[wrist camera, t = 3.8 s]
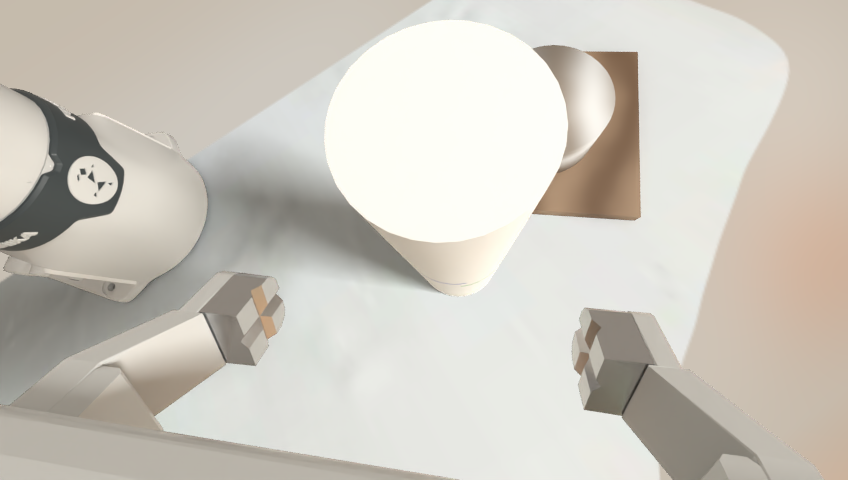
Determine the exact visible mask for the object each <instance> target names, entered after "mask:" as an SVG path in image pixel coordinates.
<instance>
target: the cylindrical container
mask: <svg viewBox="0 0 848 480" xmlns="http://www.w3.org/2000/svg"><path fill="white" fill-rule="evenodd" d="M567 131H568V119H567V111H566V103H565V100H564V97H563V94H562V91H561V89H560V86H559V83H558V81H557V79H556V78H555V76H554V75H553V73H552V71H551V70H550V68H549V67H548V65H547V63H546V62H545V61H544V60H543V59H542V58H541V57H540V56H539V55H538V54H537V53H536V52H535V51H534V50H533V49H532V48H531V47H530V46H528V45H527V44H525V43H524V42H522V41H521V40H519V39H518V38H516V37H515V36H513V35H512V34H510V33H507V32H505V31H502V30H500V29H497V28H495V27H493V26H490V25H486V24H481V23H476V22H471V21H460V20H443V21H434V22H426V23H423V24H419V25H415V26H412V27H408V28H405V29H403V30H401V31H399V32H396V33H394V34H392V35H390V36H388V37H386V38H384V39H383V40H381V41H380V42H378V43H377V44H375V45H374V46H373V47H371V48H370V49H368V50H367V51H366V52H365V53H364V54H363V55H362V56H361V57H360V58H359V59H358V60H357V61H356V62H355V63H354V64H353V65H352V66H351V67H350V68H349V70H348V71H347V72H346V74H345V75H344V77H343V78H342V80H341V81H340V83H339V84H338V86H337V88H336V90H335V93H334V95H333V97H332V100H331V102H330V104H329V108H328V113H327V117H326V122H325V139H324V144H325V150H326V156H327V162H328V166H329V168H330V171H331V173H332V176H333V178H334V181H335V183H336V185H337V187H338V188H339V190H340V191H341V192H342V194H343V195H344V197H345V198H346V200H347V201H348V202H349V204H350V205H351V206H352V207H353V208H354V209H355V210H356V211H357V212H358V213H359V214H360V215H361V216H362V217H363V218H364V219H365V220H366V221H367V222H368V223H369V224H370V225H371V226H372V227H373V228H374V229H375V230H376V231H377V232H378V233H379V234H380V235H381V236H382V237H383V238H384V239H385V240H386V241H387V242H388V243H389V244H391V245H392V246H393V247H394V248H395V249H396V250H397V251H398V252H399V253H400V254H401V255H402V256H403V257H404V258H405V259H406V260H407V261H408V262H409V263H410V264H411V265H412V266H413V267H414V268H415V269H416V270H417V271H418V272H419V273H420V274H421V275H422V276H423V277H424V278H425V279H426V280H427V281H428V282H429V283H430V284H431V285H432V286H433V287H434V288H435V289H437V290H438V291H440V292H442V293H444V294H447V295H449V296H456V297H459V296H467V295H471V294H473V293H476V292H478V291H479V290H480V289H482V288H483V287H484V286H485V285H486V284H487V283H488V282H489V281H490V279H491V277H492V276H493V274H494V273H495V271H496V270H497V268H498V266H499V265H500V263H501V262H502V260H503V259H504V257H505V255H506V254H507V252H508V251H509V249H510V247H511V246H512V244H513V243H514V241H515V239H516V238H517V236H518V235H519V233H520V232H521V230H522V228H523V227H524V225H525V224H526V222H527V220H528V219H529V217H530V216H531V214H532V212H533V211H534V209H535V208H536V206H537V205H538V203H539V201H540V200H541V198H542V197H543V195H544V193H545V192H546V190H547V189H548V187H549V185H550V183H551V182H552V180H553V178H554V176H555V174H556V173H557V171H558V169H559V167H560V164H561V161H562V158H563V154H564V151H565V148H566V143H567Z"/></svg>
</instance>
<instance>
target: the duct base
mask: <svg viewBox="0 0 848 480" xmlns="http://www.w3.org/2000/svg"><path fill="white" fill-rule="evenodd" d="M533 50H534V51H535V52H536V53H537V54H538V55H539V56H540V57H541V58H542V59H543V60H544V61H545V62H546V63H547V65H548V67H549V68H550V70H551V71H552V73H553V75H554V76H555V78H556V79H557V81H558V83H559V86H560V89H561V91H562V94H563V97H564V100H565V103H566V111H567V119H568V131H567V143H566V148H565V151H564V154H563V158H562V161H561V164H560V167H559V169H558V171H557V173H556V174H555V176H554V178H553V180H552V182H551V183H550V185H549V187H548V189H547V190H546V192H545V193H544V195H543V197H542V198H541V200H540V201H539V203H538V205H537V206H536V208H535V209H534V211H533V212H532V214H543V215H559V216H574V217H590V218H605V219H621V220H636V219H638V218H640V217H641V212H640V158H639V103H638V52H583V51H580V50H578V49H575V48H571V47H566V46H557V45H551V46H542V47H537V48H534V49H533Z"/></svg>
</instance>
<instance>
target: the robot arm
mask: <svg viewBox="0 0 848 480" xmlns="http://www.w3.org/2000/svg"><path fill="white" fill-rule="evenodd" d="M207 207H208V199H207V192H206V188H205V184H204V182H203V179H202V178H201V176H200V174H199V173H198V171H197V170H196V169H195V168H194V167H193V166H192V165H191V164H190V163H189V162H188V161H187V160H186V159H185V158H184V157H183V156H182V155H181V152H180V150H179V147H178V144H177V142H176V140H175V139H174V138H173V137H172V136H170V135H168V134H166V133H163V132H156V133H150V134H143V133H141V132H139V131H137V130H135V129H133V128H131V127H128V126H126V125H124V124H122V123H120V122H118V121H116V120H114V119H112V118H110V117H108V116H106V115H103V114H100V113H93V114H82V115H78V116H76V115H74V114H72V113H70V112H68V111H67V110H66V109H64V108H63V107H61V106H60V105H58V104H56V103H54V102H51V101H50V100H47V99H45V98H41V97H38V96H36V95H33V94H32V93H30V92H27V91H24V90H19V89H12V88H8V87H6V86H4V85H2V84H0V252H3V253H5V254H7V255H10V256H11V257H8V260H7V262H6V264H5V266H4V271H6V272H10V273H14V274H20V275H27V276H41V277H49V278H52V279H54V280H57V281H60V282H63V283H66V284H68V285H71V286H74V287H77V288H79V289H82V290H85V291H88V292H91V293H93V294H96V295H99V296H102V297H105V298H107V299H110V300H113V301H117V302H123V303H126V302H130V301H131V300H133V299H134V298H135V297H136V296H137V295H138V294H139V293H140V292H141V291H142V290H143V289H144V288H145V287H146V285H147V284H148V283H149V282H150V281H152V280H153V279H155V278H156V277H158V276H160V275H162V274H164V273H166V272H167V271H169V270H171V269H172V268H173V267H175V266H176V265H177V264H179V263H180V262H181V261H182V260H183V259H184V258H185V257H186V256H187V255H188V253H189V252H190V251H191V250H192V248H193V247H194V245H195V244H196V242H197V240H198V239H199V237H200V235H201V232H202V230H203V227H204V224H205V220H206V216H207ZM114 286H115V288H114ZM278 290H279V286H278V283H277V280H276V279H275V278H273V277H270V276H262V275H254V274H246V273H234V272H227V271H222V272H219V273H216V274H215V275H214V276H213V277H212V278H211V279H210V280H209V281H208V282H207V283H206V284H205V285H204V286H203V287H202V288H201V289H200V290H199V291H198V292H197V293H196V294H195V295H194V296H193V297H192V298H191V299H190V300H189V301H188V302H187V303H186V304H185V305H184V306H183V307H182V308H181V309H180V310H172V311H170V312H167V313H165V314H163V315H161V316H159V317H156V318H154V319H152V320H150V321H148V322H145V323H143V324H141V325H139V326H136V327H134V328H132V329H130V330H128V331H125V332H123V333H121V334H119V335H117V336H114V337H112V338H110V339H108V340H105V341H103V342H101V343H99V344H97V345H94V346H92V347H90V348H88V349H85V350H83V351H81V352H79V353H77V354H74V355H72V356H70V357H68V358H66V359H64V360H63V361H62V362H61V363H59V364H58V365H57V366H56V367H55V368H53V369H52V370H51V371H50V372H49V373H47V374H46V375H45V376H44V377H43V378H41V379H40V380H39V381H38V382H37V383H35V384H34V385H33V386H32V387H31V388H29V389H28V390H27V391H26V392H25V393H23V394H22V395H21V396H20V397H19V398H18V399H16V400H15V401H14V402H13V403H12V404H10V405H9V406H7V405H1V404H0V480H459V479H453V478H447V477H441V476H434V475H428V474H422V473H416V472H410V471H404V470H398V469H392V468H386V467H380V466H373V465H367V464H361V463H355V462H349V461H343V460H336V459H330V458H324V457H318V456H312V455H306V454H300V453H293V452H287V451H281V450H275V449H269V448H263V447H257V446H251V445H245V444H238V443H232V442H226V441H220V440H214V439H208V438H202V437H196V436H190V435H183V434H177V433H171V432H165V431H163V428H162V426H161V425H160V423H159V422H158V421H157V419H156V418H155V417H154V416H156V415H157V414H158V413H160V412H161V411H163V410H164V409H165V408H167V407H168V406H169V405H171V404H172V403H174V402H175V401H176V400H178V399H179V398H180V397H182V396H183V395H185V394H186V393H187V392H189V391H190V390H191V389H193V388H194V387H196V386H197V385H198V384H200V383H201V382H203V381H204V380H205V379H207V378H208V377H209V376H211V375H212V374H214V373H215V372H216V371H218V370H219V369H220V368H222V367H223V366H225V365H226V363H233V364H243V365H252V366H256V365H257V363H258V362H259V360H260V359H261V357H262V356H263V354H264V353H265V351H266V350H267V348H268V347H269V344H268V339H269V338H270V337H272V336H273V335H275V334H277V333H278V331H279V329H280V328H281V326H282V323H283V320H284V316H285V306H284V303H283V300H282V299H281V298H280V297H279V296H278V295H277V294H276V293H277V291H278ZM579 321H580V324H581V328H580V329H578V330H577V331H575V334H574V337H573V341H572V361H573V365H574V369H575V370H576V371H577V372H578V373H579V374H580V375H581V377H580V380H579V383H578V387H579V392H580V396H581V400H582V404H583V408H584V410H589V411H595V412H602V413H608V414H614V415H621V416H622V419H623V420H624V421H625V422H626V423H627V425H628V426H629V427H630V428H631V430H632V431H633V432H634V433H635V434H636V436H637V437H638V438H639V439H640V440H641V442H642V443H643V444H644V445H645V447H646V448H647V449H648V450H649V451H650V453H651V454H652V455H653V456H654V457H655V459H656V460H657V461H658V462H659V464H660V465H661V466H662V467H663V468H664V469H665V471H666V472H667V473H668V474H669V476H670V477H671V478H672V479H673V480H824V479H823V477H822V476H821V474H820V473H819V471H818V470H817V468H816V467H815V466H814V465H813V464H812V463H811V462H810V461H808V460H807V459H805V458H804V457H803V456H802V455H800V454H799V453H798V452H796V451H795V450H794V449H792V448H791V447H790V446H788V445H787V444H786V443H785V442H783V441H782V440H781V439H779V438H778V437H777V436H776V435H774V434H773V433H772V432H770V431H769V430H768V429H766V428H765V427H763V426H762V425H761V424H760V423H759V422H757V421H756V420H755V419H753V418H752V417H751V416H749V415H748V414H747V413H745V412H744V411H743V410H742V409H740V408H739V407H738V406H736V405H735V404H734V403H732V402H731V401H730V400H729V399H727V398H726V397H725V396H723V395H722V394H721V393H719V392H718V391H717V390H715V389H714V388H713V387H711V386H710V385H709V384H708V383H706V382H705V381H704V380H702V379H701V378H700V377H698V376H697V375H696V374H695V373H693V372H692V371H691V370H688V369H682V367H681V365H680V363H679V361H678V360H677V358H676V356H675V354H674V352H673V350H672V348H671V346H670V345H669V343H668V341H667V339H666V337H665V335H664V333H663V332H662V330H661V328H660V326H659V324H658V322H657V320H656V319H655V317H654V316H653V315H652V314H651V313H642V312H630V311H628V312H625V311H615V310H604V309H593V308H584V309H583V310H582V312H581V315H580V318H579Z"/></svg>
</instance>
